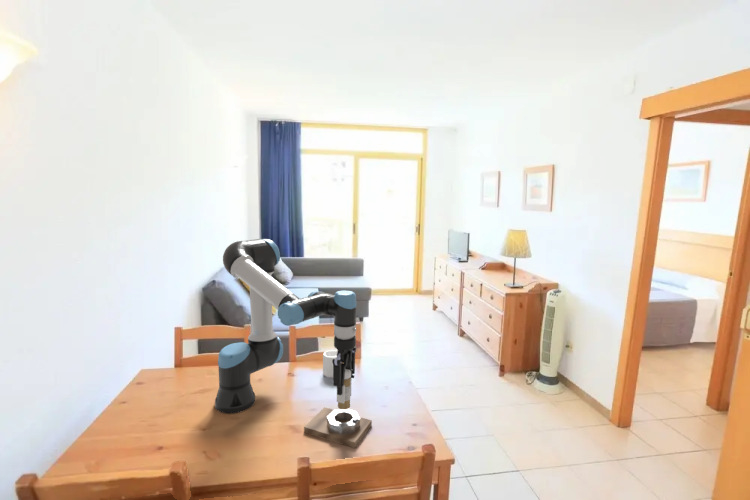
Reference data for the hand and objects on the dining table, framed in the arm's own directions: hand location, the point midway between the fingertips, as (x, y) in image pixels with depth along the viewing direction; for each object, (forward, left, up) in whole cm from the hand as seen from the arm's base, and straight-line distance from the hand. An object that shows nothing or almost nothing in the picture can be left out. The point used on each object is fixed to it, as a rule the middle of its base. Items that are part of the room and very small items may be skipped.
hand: (344, 398), depth 136 cm
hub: (0, 0, -10) cm, 10 cm away
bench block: (-2, 0, -12) cm, 12 cm away
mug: (-24, +35, -12) cm, 44 cm away
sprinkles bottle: (0, 0, -3) cm, 3 cm away
